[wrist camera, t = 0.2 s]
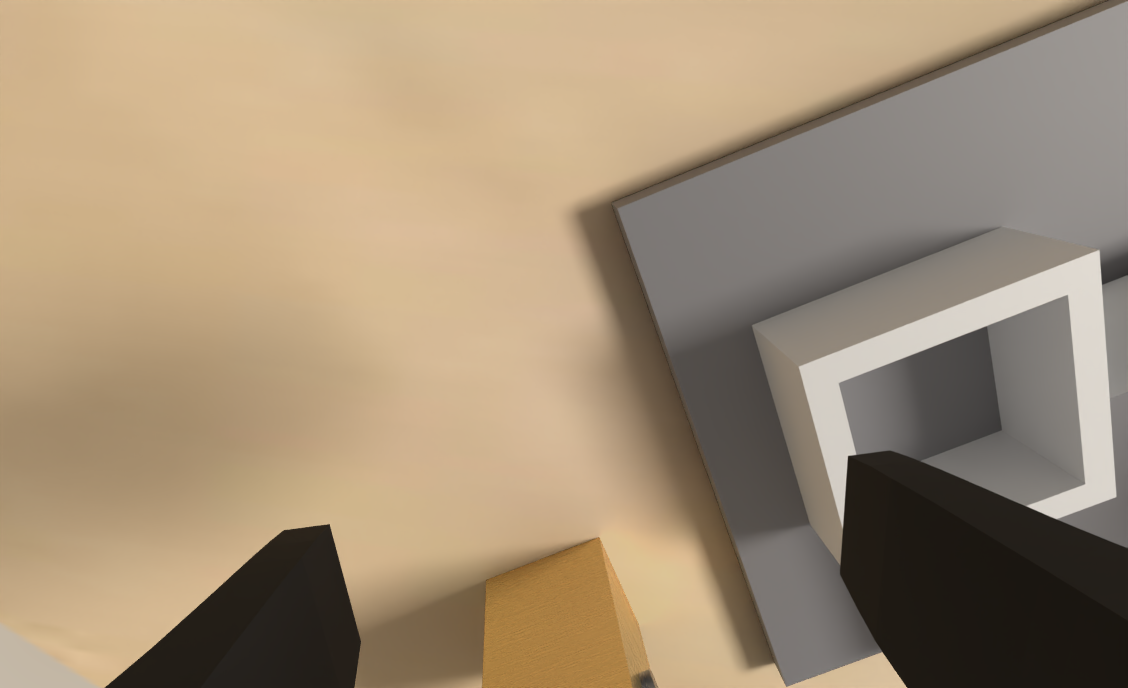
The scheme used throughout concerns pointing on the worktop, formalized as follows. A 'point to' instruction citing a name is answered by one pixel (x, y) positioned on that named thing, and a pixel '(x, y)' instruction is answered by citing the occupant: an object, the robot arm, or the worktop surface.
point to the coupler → (563, 626)
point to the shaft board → (904, 310)
